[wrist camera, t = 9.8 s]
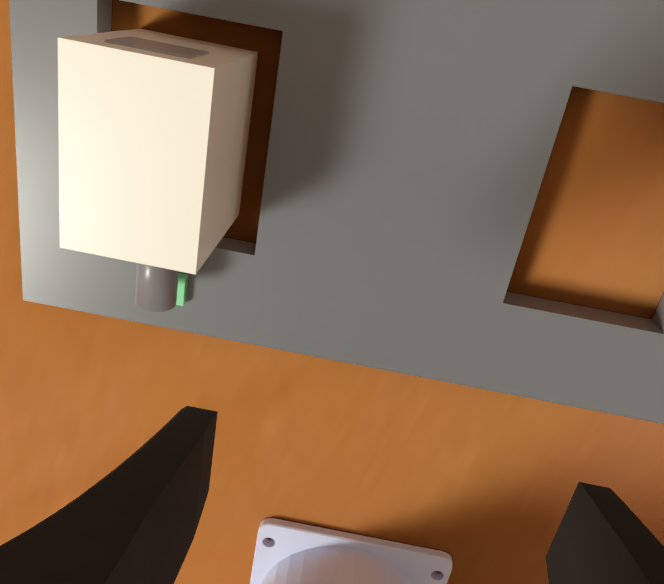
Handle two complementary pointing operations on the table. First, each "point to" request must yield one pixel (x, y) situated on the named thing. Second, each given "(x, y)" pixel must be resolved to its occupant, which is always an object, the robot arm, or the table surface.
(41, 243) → the jack panel
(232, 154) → the plug
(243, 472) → the table surface
